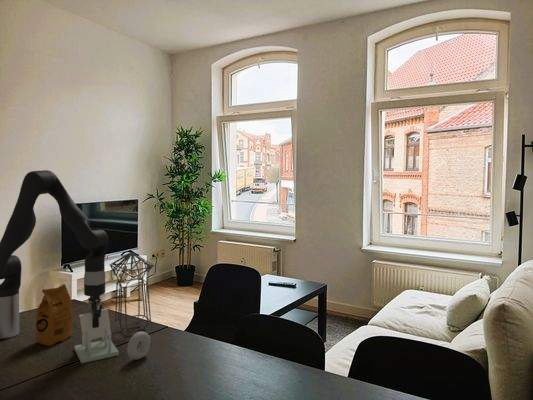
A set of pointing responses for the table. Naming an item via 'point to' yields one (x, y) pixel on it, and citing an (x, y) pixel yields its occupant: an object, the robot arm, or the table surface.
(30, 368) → the table surface
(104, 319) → the off-white rectangular prism
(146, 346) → the donut
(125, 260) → the geometric lantern
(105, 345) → the dish rack
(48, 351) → the table surface
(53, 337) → the coffee package
